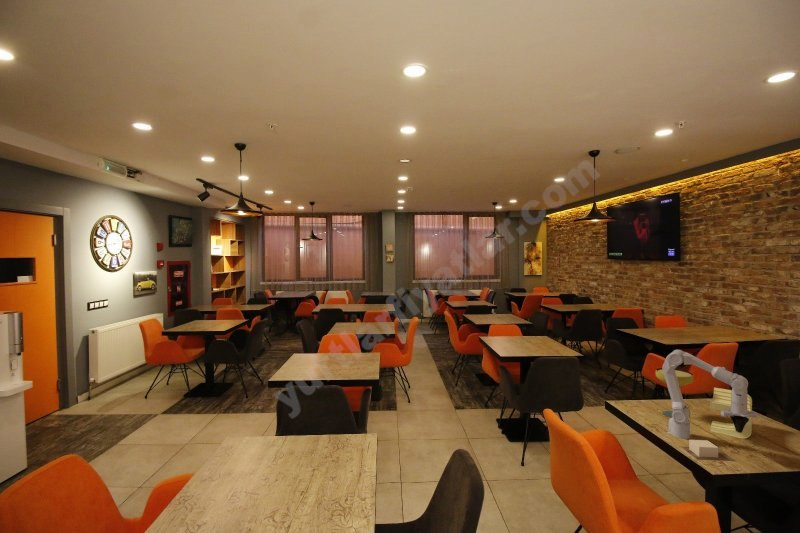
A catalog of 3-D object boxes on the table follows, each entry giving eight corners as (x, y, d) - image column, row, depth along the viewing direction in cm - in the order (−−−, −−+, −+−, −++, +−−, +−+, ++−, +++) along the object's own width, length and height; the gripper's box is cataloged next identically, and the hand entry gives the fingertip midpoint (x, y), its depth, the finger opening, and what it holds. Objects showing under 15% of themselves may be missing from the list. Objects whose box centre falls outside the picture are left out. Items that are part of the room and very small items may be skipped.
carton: (707, 450, 182) (689, 449, 183) (707, 440, 182) (689, 439, 183) (718, 457, 176) (699, 456, 176) (718, 447, 175) (699, 446, 176)
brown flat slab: (680, 449, 186) (680, 446, 186) (716, 451, 184) (717, 447, 184) (697, 462, 174) (697, 459, 174) (736, 464, 173) (736, 461, 172)
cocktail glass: (695, 424, 214) (696, 378, 214) (656, 417, 223) (656, 374, 223) (690, 412, 230) (691, 370, 230) (654, 407, 239) (654, 366, 239)
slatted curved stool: (751, 446, 189) (751, 410, 188) (709, 436, 199) (709, 402, 199) (751, 426, 211) (752, 393, 211) (713, 418, 222) (714, 387, 221)
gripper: (728, 405, 178) (728, 435, 178) (763, 406, 176) (762, 436, 177) (717, 399, 185) (717, 428, 185) (750, 400, 183) (750, 429, 184)
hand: (738, 431), depth 181 cm, fingers closed
